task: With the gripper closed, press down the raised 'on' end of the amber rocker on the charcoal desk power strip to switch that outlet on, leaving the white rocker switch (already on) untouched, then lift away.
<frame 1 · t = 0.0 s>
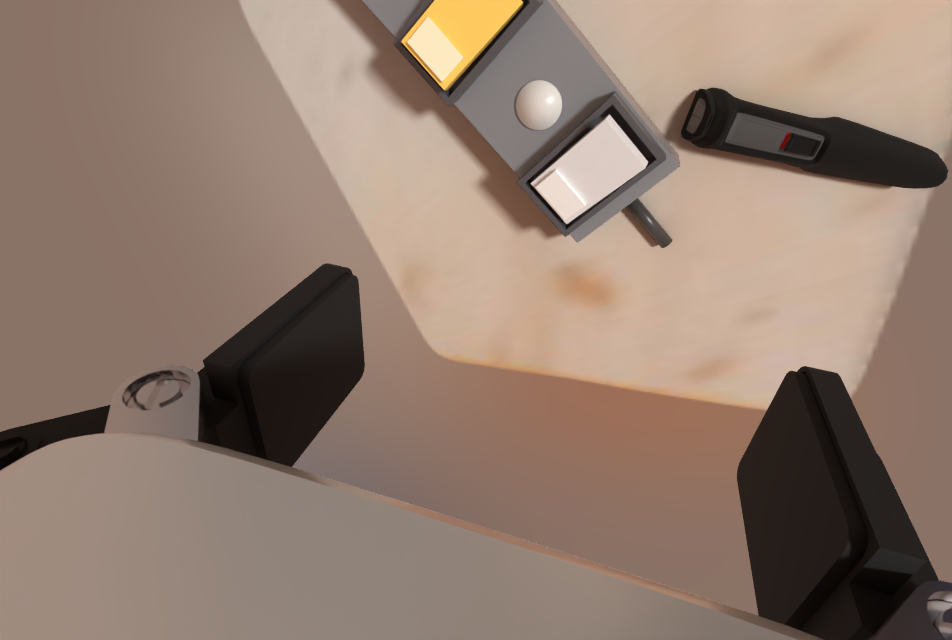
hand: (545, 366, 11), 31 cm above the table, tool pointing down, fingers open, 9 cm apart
power strip: (515, 60, 37), on the table
electric trimmer: (799, 133, 34), on the table
amber rocker: (461, 23, 32), point 5 cm above the table, hinge at -12.0°
white rocker switch: (585, 174, 35), point 5 cm above the table, hinge at 12.0°
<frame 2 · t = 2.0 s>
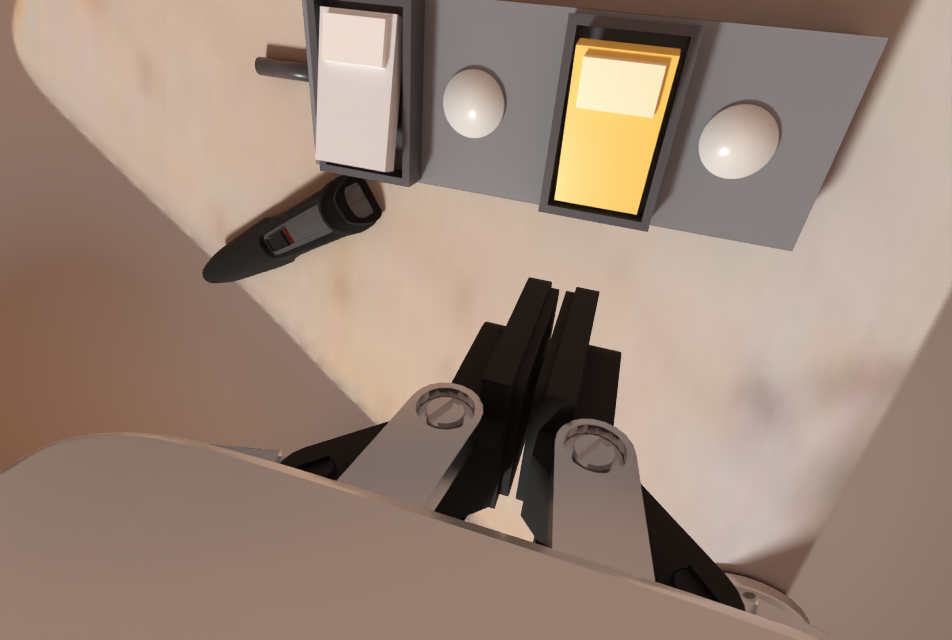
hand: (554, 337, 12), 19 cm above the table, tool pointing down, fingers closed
power strip: (553, 105, 27), on the table
electric trimmer: (300, 231, 37), on the table
amber rocker: (610, 134, 22), point 5 cm above the table, hinge at -12.0°
white rocker switch: (356, 92, 25), point 5 cm above the table, hinge at 12.0°
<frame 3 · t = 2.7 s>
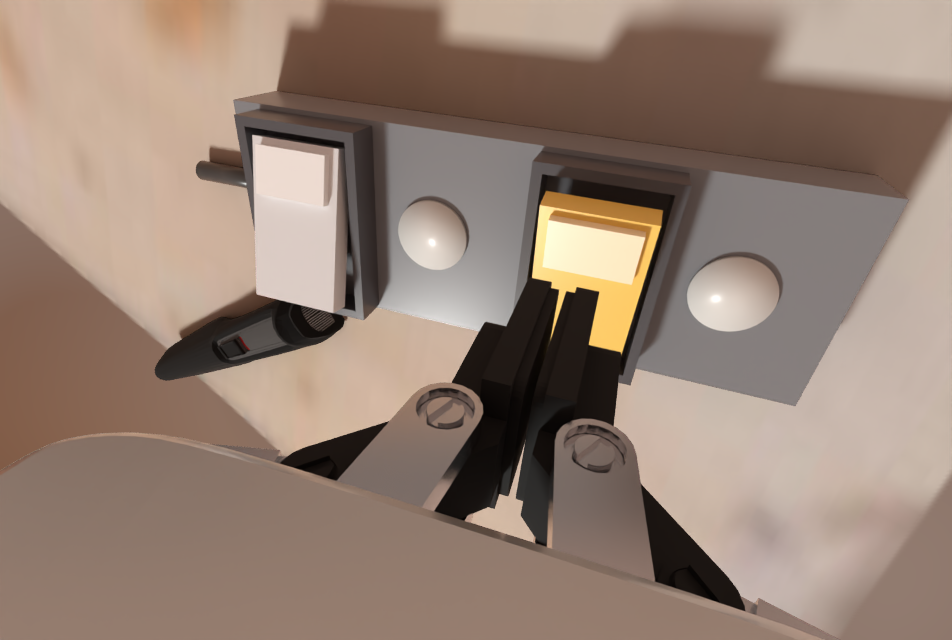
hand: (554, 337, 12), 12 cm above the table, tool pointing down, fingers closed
power strip: (524, 226, 24), on the table
electric trimmer: (259, 329, 34), on the table
amber rocker: (584, 289, 19), point 5 cm above the table, hinge at -12.0°
white rocker switch: (298, 226, 22), point 5 cm above the table, hinge at 12.0°
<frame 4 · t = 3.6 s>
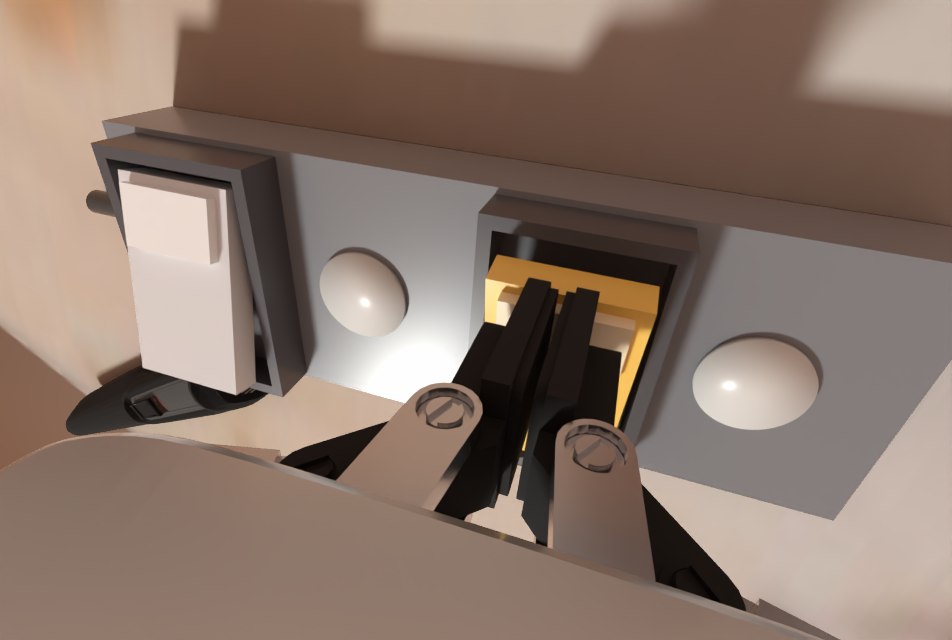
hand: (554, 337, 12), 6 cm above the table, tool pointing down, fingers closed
power strip: (485, 276, 19), on the table
electric trimmer: (186, 380, 29), on the table
amber rocker: (553, 380, 14), point 5 cm above the table, hinge at -11.9°, touching gripper
white rocker switch: (187, 285, 17), point 5 cm above the table, hinge at 12.0°
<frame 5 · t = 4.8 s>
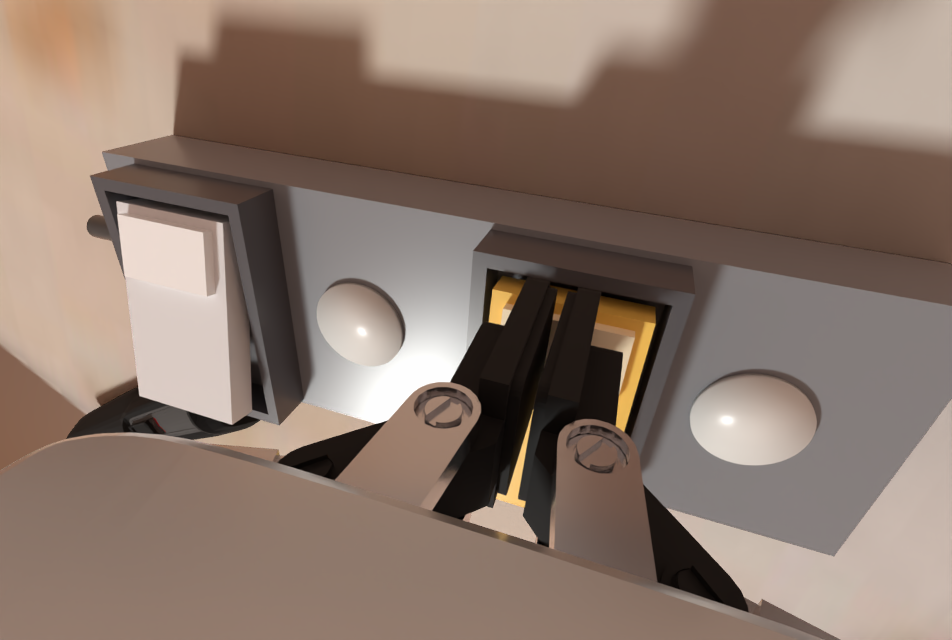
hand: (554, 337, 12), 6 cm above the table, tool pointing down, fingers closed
power strip: (483, 305, 19), on the table
electric trimmer: (185, 400, 29), on the table
amber rocker: (550, 412, 14), point 5 cm above the table, hinge at 4.7°
white rocker switch: (184, 315, 17), point 5 cm above the table, hinge at 12.0°
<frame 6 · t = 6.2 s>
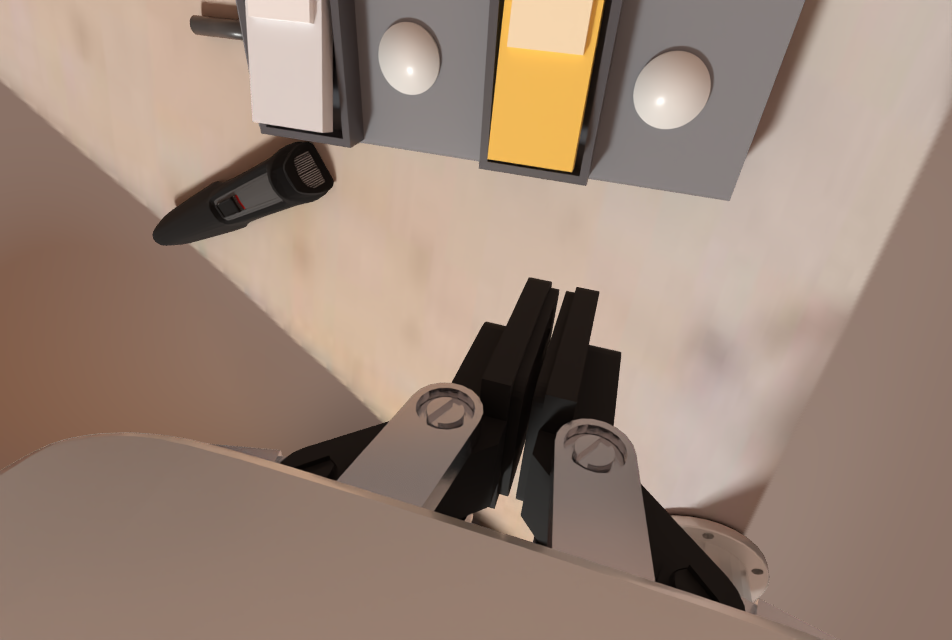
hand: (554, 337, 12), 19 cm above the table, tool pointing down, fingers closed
power strip: (493, 58, 27), on the table
electric trimmer: (253, 196, 37), on the table
amber rocker: (542, 82, 22), point 5 cm above the table, hinge at 8.6°
white rocker switch: (288, 50, 24), point 5 cm above the table, hinge at 12.0°
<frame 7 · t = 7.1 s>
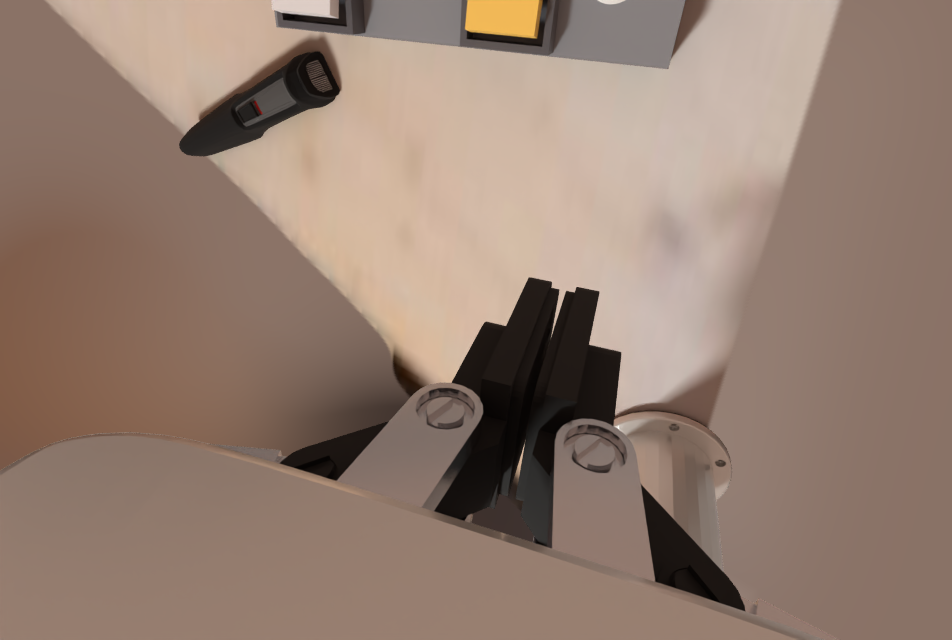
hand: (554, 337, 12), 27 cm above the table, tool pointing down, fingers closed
electric trimmer: (268, 110, 42), on the table
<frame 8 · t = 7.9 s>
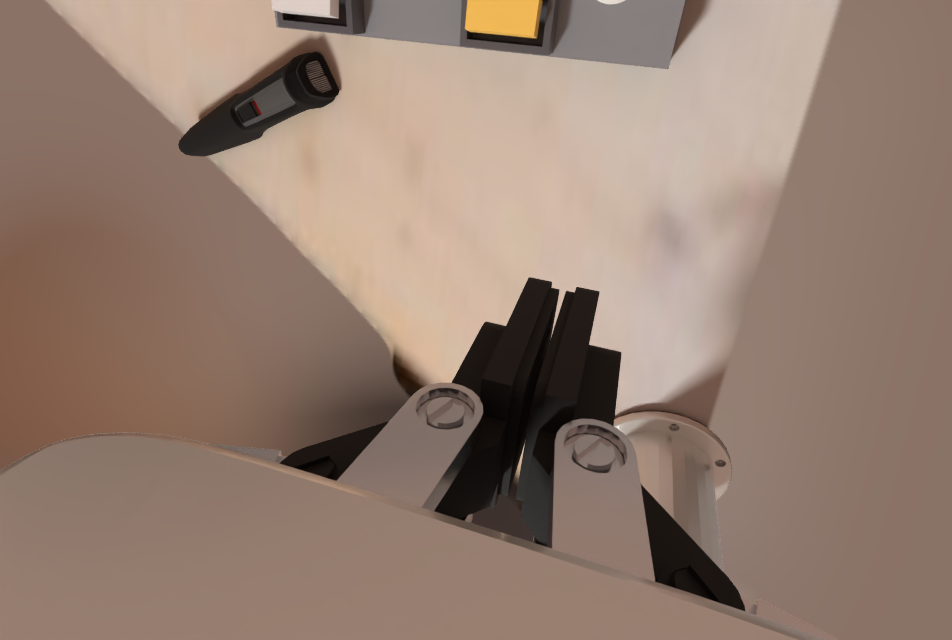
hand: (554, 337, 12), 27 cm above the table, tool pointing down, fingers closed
electric trimmer: (268, 110, 42), on the table
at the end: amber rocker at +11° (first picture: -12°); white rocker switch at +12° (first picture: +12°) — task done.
